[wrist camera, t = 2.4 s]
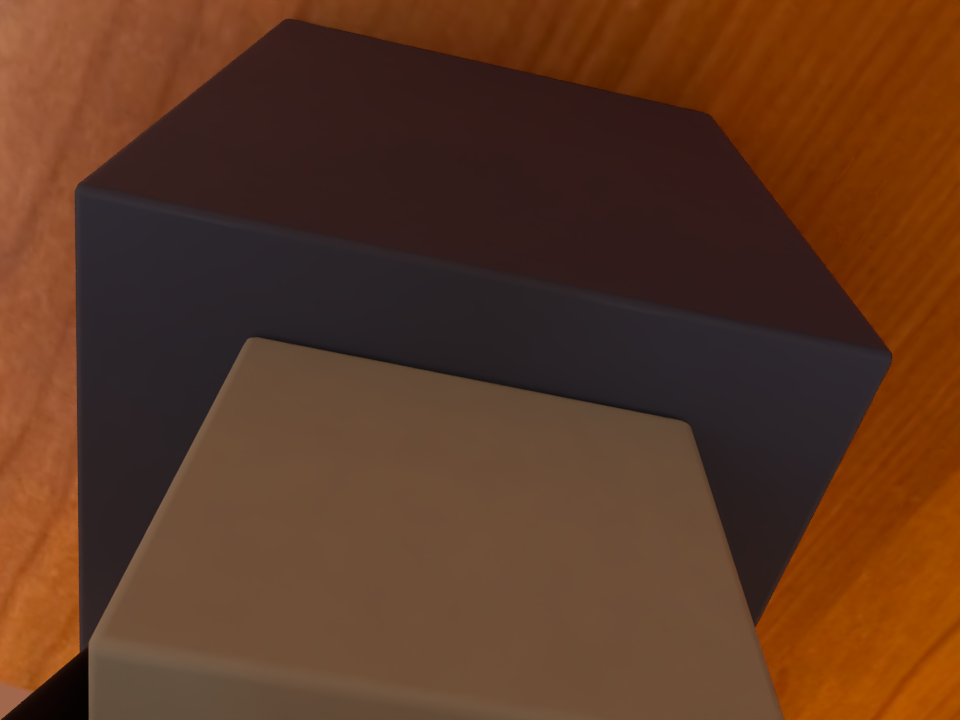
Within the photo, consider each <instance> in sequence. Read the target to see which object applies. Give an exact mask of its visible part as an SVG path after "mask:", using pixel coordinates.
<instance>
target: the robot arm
mask: <svg viewBox="0 0 960 720" xmlns="http://www.w3.org/2000/svg"><path fill="white" fill-rule="evenodd" d="M1 720H89V646H87V647H86V648H85V649H84V650H83V651H82V652H80V653H79V654H78V655H77V656H76V657H74V658H73V659H72V660H71V661H70V662H69V663H67V664H66V665H65V666H64V667H63V668H61V669H60V670H59V671H58V672H57V673H56V674H54V675H53V676H52V677H51V678H50V679H48V680H47V681H46V682H45V683H44V684H43V685H41V686H40V687H39V688H38V689H37V690H35V691H34V692H33V693H32V694H31V695H30V696H28V697H27V698H26V699H25V700H24V701H22V702H21V703H20V704H19V705H18V706H17V707H16V708H14V709H13V710H12V711H11V712H10V713H8V714H7V715H6V716H5V717H4V718H2V719H1Z"/></svg>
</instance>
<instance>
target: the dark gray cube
mask: <svg viewBox="0 0 960 720" xmlns="http://www.w3.org/2000/svg"><path fill="white" fill-rule="evenodd" d="M75 250H76V343H77V436H78V529H79V623H80V652H82V651H83V650H84V649H85V648H86V647H87V646H89V641H90V639H91V637H92V635H93V633H94V631H95V629H96V627H97V625H98V623H99V621H100V619H101V618H102V616H103V614H104V612H105V610H106V608H107V606H108V604H109V602H110V600H111V598H112V596H113V595H114V593H115V591H116V589H117V587H118V585H119V583H120V581H121V579H122V577H123V575H124V573H125V572H126V570H127V568H128V566H129V564H130V562H131V560H132V558H133V556H134V554H135V552H136V550H137V549H138V547H139V545H140V543H141V541H142V539H143V537H144V535H145V533H146V531H147V529H148V527H149V525H150V524H151V522H152V520H153V518H154V516H155V514H156V512H157V510H158V508H159V506H160V504H161V502H162V501H163V499H164V497H165V495H166V493H167V491H168V489H169V487H170V485H171V483H172V481H173V479H174V478H175V476H176V474H177V472H178V470H179V468H180V466H181V464H182V462H183V460H184V458H185V456H186V455H187V453H188V451H189V449H190V447H191V445H192V443H193V441H194V439H195V437H196V435H197V433H198V432H199V430H200V428H201V426H202V424H203V422H204V420H205V418H206V416H207V414H208V412H209V410H210V409H211V407H212V405H213V403H214V401H215V399H216V397H217V395H218V393H219V391H220V389H221V387H222V386H223V384H224V382H225V380H226V378H227V376H228V374H229V372H230V370H231V368H232V366H233V364H234V362H235V361H236V359H237V357H238V355H239V353H240V351H241V349H242V347H243V345H244V344H245V342H246V341H247V339H249V338H253V337H260V338H265V339H270V340H275V341H280V342H285V343H291V344H296V345H301V346H306V347H311V348H316V349H321V350H326V351H331V352H336V353H341V354H346V355H352V356H357V357H362V358H367V359H372V360H377V361H382V362H387V363H392V364H397V365H402V366H408V367H413V368H418V369H423V370H428V371H433V372H438V373H443V374H448V375H453V376H458V377H463V378H469V379H474V380H479V381H484V382H489V383H494V384H499V385H504V386H509V387H514V388H519V389H524V390H530V391H535V392H540V393H545V394H550V395H555V396H560V397H565V398H570V399H575V400H580V401H586V402H591V403H596V404H601V405H606V406H611V407H616V408H621V409H626V410H631V411H636V412H641V413H647V414H652V415H657V416H662V417H667V418H672V419H677V420H682V421H684V422H686V423H687V424H689V425H690V426H691V429H692V432H693V436H694V439H695V442H696V445H697V448H698V451H699V454H700V458H701V461H702V464H703V467H704V470H705V473H706V476H707V479H708V483H709V486H710V489H711V492H712V495H713V498H714V501H715V504H716V508H717V511H718V514H719V517H720V520H721V523H722V526H723V529H724V533H725V536H726V539H727V542H728V545H729V548H730V551H731V555H732V558H733V561H734V564H735V567H736V570H737V573H738V576H739V580H740V583H741V586H742V589H743V592H744V595H745V598H746V601H747V605H748V608H749V611H750V614H751V617H752V620H753V623H754V627H756V625H757V623H758V621H759V619H760V617H761V615H762V614H763V612H764V610H765V608H766V606H767V604H768V602H769V600H770V598H771V596H772V594H773V592H774V590H775V588H776V586H777V584H778V582H779V581H780V579H781V577H782V575H783V573H784V571H785V569H786V567H787V565H788V563H789V561H790V559H791V557H792V555H793V553H794V551H795V549H796V547H797V546H798V544H799V542H800V540H801V538H802V536H803V534H804V532H805V530H806V528H807V526H808V524H809V522H810V520H811V518H812V516H813V514H814V512H815V511H816V509H817V507H818V505H819V503H820V501H821V499H822V497H823V495H824V493H825V491H826V489H827V487H828V485H829V483H830V481H831V479H832V477H833V476H834V474H835V472H836V470H837V468H838V466H839V464H840V462H841V460H842V458H843V456H844V454H845V452H846V450H847V448H848V446H849V444H850V442H851V441H852V439H853V437H854V435H855V433H856V431H857V429H858V427H859V425H860V423H861V421H862V419H863V417H864V415H865V413H866V411H867V409H868V407H869V406H870V404H871V402H872V400H873V398H874V396H875V394H876V392H877V390H878V388H879V386H880V384H881V382H882V380H883V378H884V376H885V374H886V373H887V371H888V369H889V367H890V365H891V362H892V353H891V351H890V350H889V349H888V347H887V346H886V345H885V344H884V342H883V341H882V340H881V338H880V337H879V336H878V334H877V333H876V332H875V330H874V329H873V328H872V326H871V325H870V324H869V323H868V321H867V320H866V319H865V317H864V316H863V315H862V313H861V312H860V311H859V309H858V308H857V307H856V305H855V304H854V303H853V302H852V300H851V299H850V298H849V296H848V295H847V294H846V292H845V291H844V290H843V288H842V287H841V286H840V284H839V283H838V282H837V281H836V279H835V278H834V277H833V275H832V274H831V273H830V271H829V270H828V269H827V267H826V266H825V265H824V263H823V262H822V261H821V259H820V258H819V257H818V256H817V254H816V253H815V252H814V250H813V249H812V248H811V246H810V245H809V244H808V242H807V241H806V240H805V238H804V237H803V236H802V235H801V233H800V232H799V231H798V229H797V228H796V227H795V225H794V224H793V223H792V221H791V220H790V219H789V217H788V216H787V215H786V214H785V212H784V211H783V210H782V208H781V207H780V206H779V204H778V203H777V202H776V200H775V199H774V198H773V196H772V195H771V194H770V193H769V191H768V190H767V189H766V187H765V186H764V185H763V183H762V182H761V181H760V179H759V178H758V177H757V175H756V174H755V173H754V172H753V170H752V169H751V168H750V166H749V165H748V164H747V162H746V161H745V160H744V158H743V157H742V156H741V154H740V153H739V152H738V150H737V149H736V148H735V147H734V145H733V144H732V143H731V141H730V140H729V139H728V137H727V136H726V135H725V133H724V132H723V131H722V129H721V128H720V127H719V126H718V124H717V123H716V122H715V120H714V119H713V118H712V116H710V115H709V114H706V113H701V112H697V111H693V110H688V109H684V108H679V107H675V106H671V105H666V104H662V103H657V102H653V101H649V100H644V99H640V98H635V97H631V96H627V95H622V94H618V93H613V92H609V91H605V90H600V89H596V88H591V87H587V86H583V85H578V84H574V83H569V82H565V81H561V80H556V79H552V78H547V77H543V76H539V75H534V74H530V73H525V72H521V71H517V70H512V69H508V68H503V67H499V66H495V65H490V64H486V63H481V62H477V61H473V60H468V59H464V58H459V57H455V56H451V55H446V54H442V53H437V52H433V51H429V50H424V49H420V48H415V47H411V46H407V45H402V44H398V43H393V42H389V41H384V40H380V39H376V38H371V37H367V36H362V35H358V34H354V33H349V32H345V31H340V30H336V29H332V28H327V27H323V26H318V25H314V24H310V23H305V22H301V21H296V20H292V19H285V20H284V21H282V22H281V23H280V24H279V25H277V26H276V27H275V28H274V29H272V30H271V31H270V32H269V33H267V34H266V35H265V36H264V37H262V38H261V39H260V40H259V41H257V42H256V43H255V44H253V45H252V46H251V47H250V48H248V49H247V50H246V51H245V52H243V53H242V54H241V55H240V56H238V57H237V58H236V59H235V60H233V61H232V62H231V63H230V64H228V65H227V66H226V67H225V68H223V69H222V70H221V71H220V72H218V73H217V74H216V75H215V76H213V77H212V78H211V79H210V80H208V81H207V82H206V83H205V84H203V85H202V86H201V87H200V88H198V89H197V90H196V91H195V92H193V93H192V94H191V95H190V96H188V97H187V98H186V99H185V100H183V101H182V102H181V103H180V104H178V105H177V106H176V107H174V108H173V109H172V110H171V111H169V112H168V113H167V114H166V115H164V116H163V117H162V118H161V119H159V120H158V121H157V122H156V123H154V124H153V125H152V126H151V127H149V128H148V129H147V130H146V131H144V132H143V133H142V134H141V135H139V136H138V137H137V138H136V139H134V140H133V141H132V142H131V143H129V144H128V145H127V146H126V147H124V148H123V149H122V150H121V151H119V152H118V153H117V154H116V155H114V156H113V157H112V158H111V159H109V160H108V161H107V162H106V163H104V164H103V165H102V166H101V167H99V168H98V169H97V170H96V171H94V172H93V173H92V174H90V175H89V176H88V177H87V178H85V179H84V180H83V181H82V182H80V183H79V184H78V186H77V188H76V190H75Z"/></svg>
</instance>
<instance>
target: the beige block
mask: <svg viewBox="0 0 960 720" xmlns="http://www.w3.org/2000/svg"><path fill="white" fill-rule="evenodd" d="M89 720H784V717H783V714H782V711H781V708H780V705H779V702H778V699H777V695H776V692H775V689H774V686H773V683H772V680H771V677H770V673H769V670H768V667H767V664H766V661H765V658H764V655H763V652H762V648H761V645H760V642H759V639H758V636H757V633H756V630H755V627H754V623H753V620H752V617H751V614H750V611H749V608H748V605H747V601H746V598H745V595H744V592H743V589H742V586H741V583H740V580H739V576H738V573H737V570H736V567H735V564H734V561H733V558H732V555H731V551H730V548H729V545H728V542H727V539H726V536H725V533H724V529H723V526H722V523H721V520H720V517H719V514H718V511H717V508H716V504H715V501H714V498H713V495H712V492H711V489H710V486H709V483H708V479H707V476H706V473H705V470H704V467H703V464H702V461H701V458H700V454H699V451H698V448H697V445H696V442H695V439H694V436H693V432H692V429H691V426H690V425H689V424H687V423H686V422H684V421H682V420H677V419H672V418H667V417H662V416H657V415H652V414H647V413H641V412H636V411H631V410H626V409H621V408H616V407H611V406H606V405H601V404H596V403H591V402H586V401H580V400H575V399H570V398H565V397H560V396H555V395H550V394H545V393H540V392H535V391H530V390H524V389H519V388H514V387H509V386H504V385H499V384H494V383H489V382H484V381H479V380H474V379H469V378H463V377H458V376H453V375H448V374H443V373H438V372H433V371H428V370H423V369H418V368H413V367H408V366H402V365H397V364H392V363H387V362H382V361H377V360H372V359H367V358H362V357H357V356H352V355H346V354H341V353H336V352H331V351H326V350H321V349H316V348H311V347H306V346H301V345H296V344H291V343H285V342H280V341H275V340H270V339H265V338H260V337H253V338H249V339H247V341H246V342H245V344H244V345H243V347H242V349H241V351H240V353H239V355H238V357H237V359H236V361H235V362H234V364H233V366H232V368H231V370H230V372H229V374H228V376H227V378H226V380H225V382H224V384H223V386H222V387H221V389H220V391H219V393H218V395H217V397H216V399H215V401H214V403H213V405H212V407H211V409H210V410H209V412H208V414H207V416H206V418H205V420H204V422H203V424H202V426H201V428H200V430H199V432H198V433H197V435H196V437H195V439H194V441H193V443H192V445H191V447H190V449H189V451H188V453H187V455H186V456H185V458H184V460H183V462H182V464H181V466H180V468H179V470H178V472H177V474H176V476H175V478H174V479H173V481H172V483H171V485H170V487H169V489H168V491H167V493H166V495H165V497H164V499H163V501H162V502H161V504H160V506H159V508H158V510H157V512H156V514H155V516H154V518H153V520H152V522H151V524H150V525H149V527H148V529H147V531H146V533H145V535H144V537H143V539H142V541H141V543H140V545H139V547H138V549H137V550H136V552H135V554H134V556H133V558H132V560H131V562H130V564H129V566H128V568H127V570H126V572H125V573H124V575H123V577H122V579H121V581H120V583H119V585H118V587H117V589H116V591H115V593H114V595H113V596H112V598H111V600H110V602H109V604H108V606H107V608H106V610H105V612H104V614H103V616H102V618H101V619H100V621H99V623H98V625H97V627H96V629H95V631H94V633H93V635H92V637H91V639H90V641H89Z"/></svg>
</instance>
